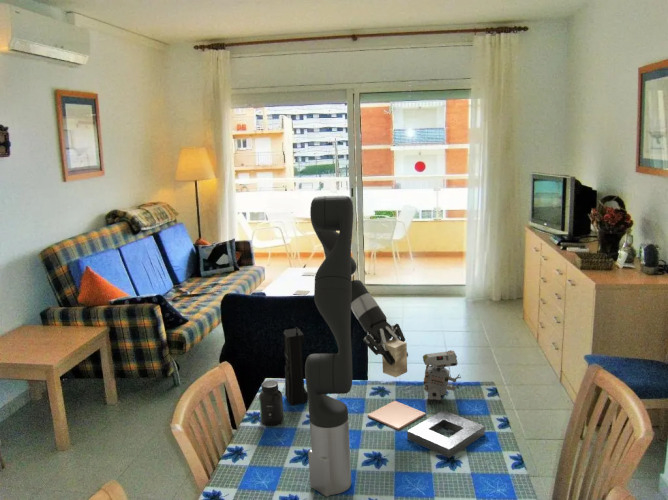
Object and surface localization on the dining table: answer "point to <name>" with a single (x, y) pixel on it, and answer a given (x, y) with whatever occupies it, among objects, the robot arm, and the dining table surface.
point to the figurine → (438, 374)
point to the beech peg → (396, 358)
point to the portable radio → (294, 367)
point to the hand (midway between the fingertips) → (399, 360)
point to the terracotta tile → (396, 415)
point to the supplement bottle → (271, 404)
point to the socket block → (442, 444)
